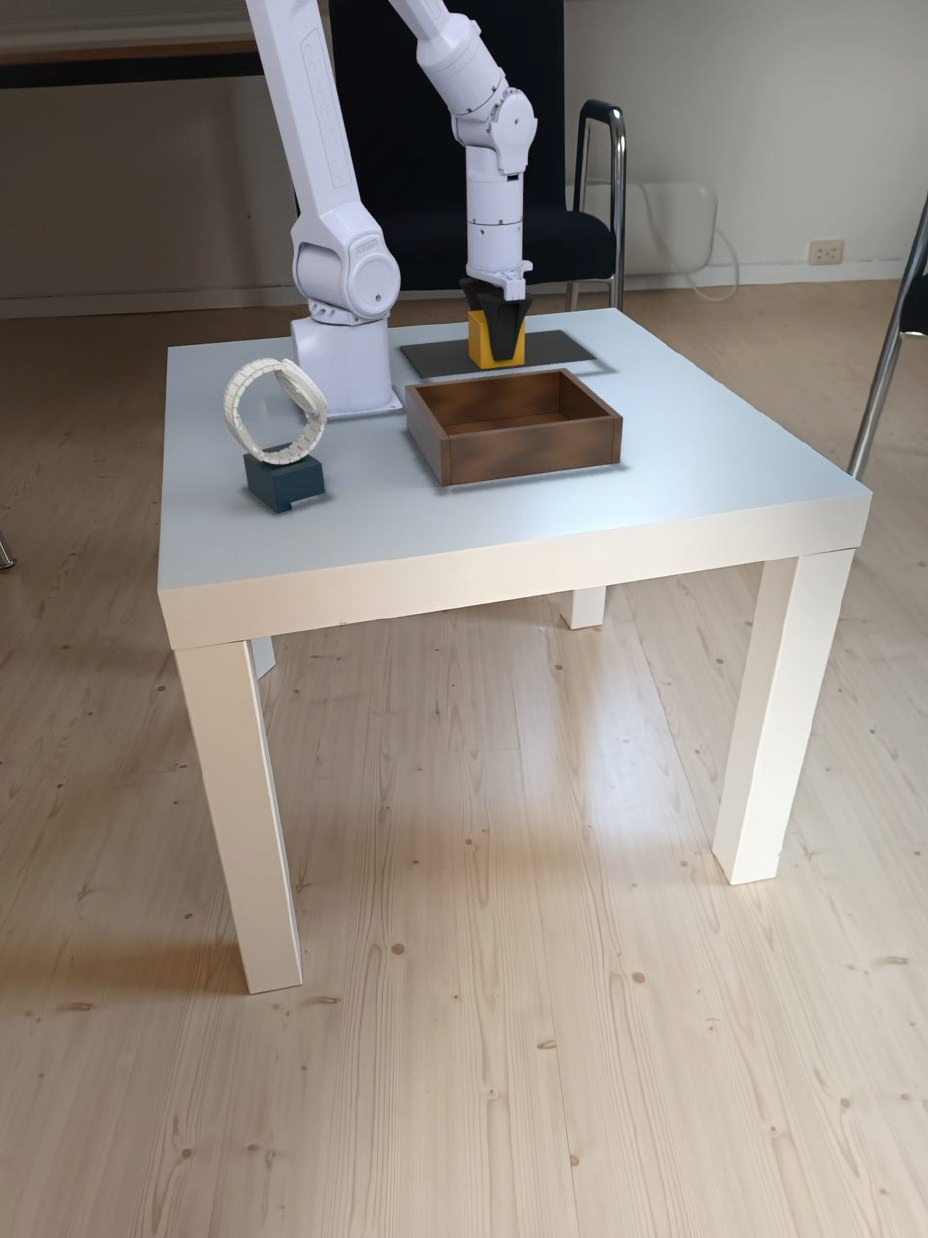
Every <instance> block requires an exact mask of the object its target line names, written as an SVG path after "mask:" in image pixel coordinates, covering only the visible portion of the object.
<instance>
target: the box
mask: <svg viewBox="0 0 928 1238" xmlns="http://www.w3.org/2000/svg"><path fill="white" fill-rule="evenodd" d="M404 401H405V415H406V429H407V430H408V432H409V434H410V435H411V437H412V439H413V440H414V442H415V444H416V445H417V447H418V449H419V451H420V452H421V454H422V455H423V457H424V459H425V461H426V462H427V464H428V466H429V468H430V469H431V471H432V473H433V474H434V476H435V477H436V479H437V481H438V483H439V484H440V486H441V487H442V488H443V487H444V488H445V487H451V486H461V485H467V484H473V483H481V482H488V481H496V480H503V479H504V480H505V479H512V478H518V477H524V476H534V475H541V474H542V475H543V474H548V473H555V472H563V471H570V470H579V469H586V468H593V467H601V466H607V465H615V464H620V463H621V454H622V453H621V452H622V443H623V440H622V439H623V427H624V417H623V416H622V415H621V414H620V413H619V412H618V411H616V409H614V408H613V407H612V406H611V405H610V404H608V403H607V402H606V401H605V400H604V399H603V398H602V397H600V396H599V395H598V394H597V393H596V392H594V390H592V389H591V388H590V387H589V386H588V385H587V384H585V383H584V382H583V381H582V380H581V379H580V378H578V377H577V376H576V375H575V374H574V373H573V372H572V371H570V370H569V369H568V368H567V367H561V368H560V367H559V368H552V369H544V370H543V369H542V370H533V371H525V372H516V373H508V374H507V373H506V374H497V375H487V376H480V377H471V378H462V379H451V380H444V381H435V382H426V383H424V382H423V383H417V384H407V385H404Z"/></svg>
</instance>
